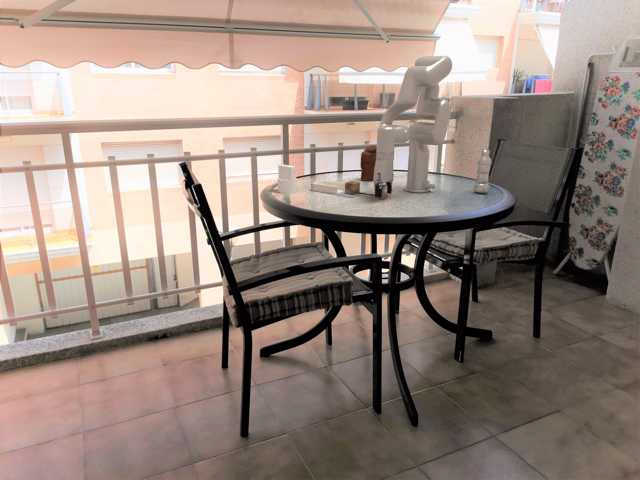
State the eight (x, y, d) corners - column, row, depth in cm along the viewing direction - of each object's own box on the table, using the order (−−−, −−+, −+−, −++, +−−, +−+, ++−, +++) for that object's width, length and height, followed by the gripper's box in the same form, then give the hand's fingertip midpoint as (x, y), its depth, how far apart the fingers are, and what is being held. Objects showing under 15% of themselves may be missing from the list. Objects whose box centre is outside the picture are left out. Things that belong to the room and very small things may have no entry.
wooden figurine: (380, 178, 253) (381, 144, 247) (383, 181, 247) (385, 146, 241) (358, 179, 251) (359, 145, 245) (362, 181, 245) (363, 146, 239)
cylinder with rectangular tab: (300, 191, 223) (300, 165, 219) (286, 194, 217) (286, 168, 213) (287, 188, 229) (287, 163, 225) (273, 191, 222) (273, 165, 219)
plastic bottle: (488, 192, 224) (493, 149, 217) (486, 195, 218) (492, 151, 212) (474, 190, 226) (479, 148, 220) (472, 193, 220) (477, 150, 214)
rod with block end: (388, 197, 210) (389, 184, 208) (383, 199, 206) (384, 186, 205) (350, 191, 221) (350, 179, 219) (344, 193, 217) (345, 181, 215)
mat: (364, 192, 221) (364, 192, 221) (351, 197, 211) (351, 196, 211) (349, 190, 225) (349, 189, 225) (335, 195, 216) (335, 194, 216)
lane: (347, 190, 225) (347, 183, 224) (335, 194, 217) (336, 186, 216) (322, 186, 232) (323, 179, 231) (311, 190, 224) (311, 183, 223)
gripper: (386, 152, 212) (384, 190, 218) (367, 157, 199) (365, 197, 204) (401, 154, 208) (399, 193, 214) (383, 159, 195) (381, 200, 200)
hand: (383, 195), depth 209 cm, fingers open, 8 cm apart
